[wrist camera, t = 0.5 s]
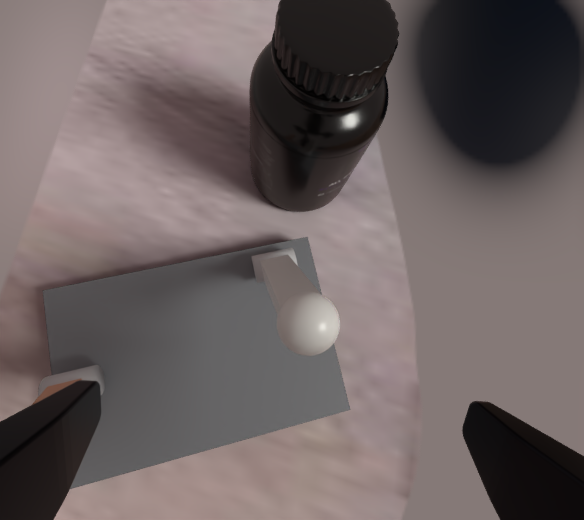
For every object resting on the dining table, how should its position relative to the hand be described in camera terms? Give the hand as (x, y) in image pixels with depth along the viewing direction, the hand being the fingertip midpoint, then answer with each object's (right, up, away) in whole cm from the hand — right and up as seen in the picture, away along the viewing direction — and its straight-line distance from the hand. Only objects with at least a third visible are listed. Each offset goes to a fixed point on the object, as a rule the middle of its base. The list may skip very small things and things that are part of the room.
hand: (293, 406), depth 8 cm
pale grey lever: (-1, +3, +12) cm, 12 cm away
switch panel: (-6, -2, +13) cm, 14 cm away
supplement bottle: (0, +10, +16) cm, 19 cm away
